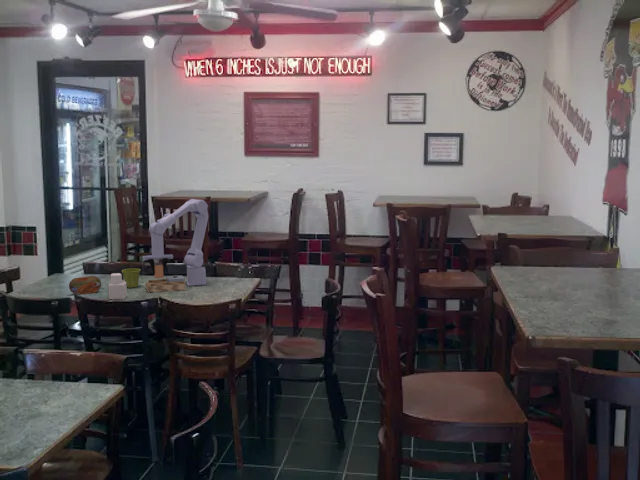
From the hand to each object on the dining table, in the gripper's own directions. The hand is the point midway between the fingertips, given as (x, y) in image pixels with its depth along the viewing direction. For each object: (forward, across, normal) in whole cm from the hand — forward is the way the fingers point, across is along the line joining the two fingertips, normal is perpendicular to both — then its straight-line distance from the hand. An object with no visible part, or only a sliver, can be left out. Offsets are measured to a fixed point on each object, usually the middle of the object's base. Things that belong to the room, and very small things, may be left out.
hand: (158, 273), depth 353 cm
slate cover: (+5, +8, 0) cm, 10 cm away
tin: (+8, -35, +5) cm, 36 cm away
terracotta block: (+2, 0, 0) cm, 2 cm away
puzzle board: (+8, +3, 0) cm, 9 cm away
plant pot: (+8, -12, +13) cm, 20 cm away
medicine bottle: (+8, -21, -12) cm, 26 cm away
